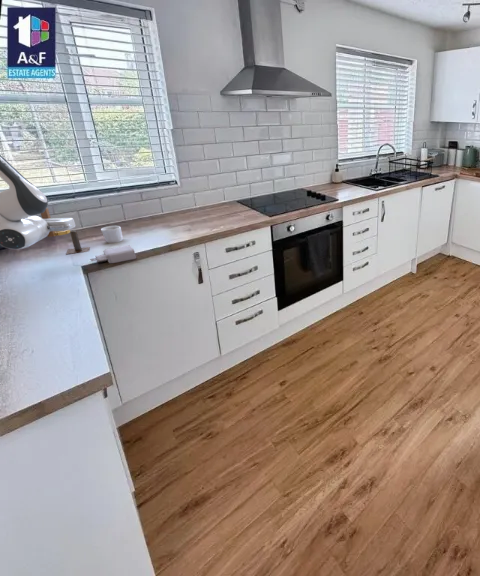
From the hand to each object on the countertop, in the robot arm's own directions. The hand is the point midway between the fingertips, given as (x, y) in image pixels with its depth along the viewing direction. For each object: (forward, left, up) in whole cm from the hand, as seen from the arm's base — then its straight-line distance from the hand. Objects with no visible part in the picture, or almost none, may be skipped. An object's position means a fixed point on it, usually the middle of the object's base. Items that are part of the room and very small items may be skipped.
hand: (48, 220), depth 144 cm
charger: (+18, -5, -18) cm, 26 cm away
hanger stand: (+5, +16, -18) cm, 24 cm away
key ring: (+1, +3, -6) cm, 7 cm away
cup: (+18, +27, -18) cm, 37 cm away
